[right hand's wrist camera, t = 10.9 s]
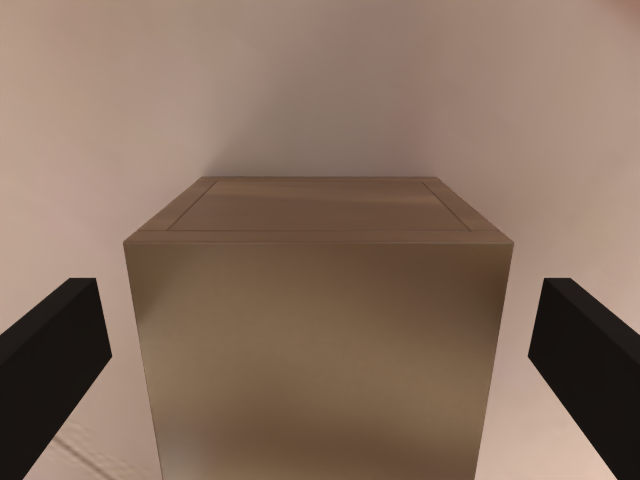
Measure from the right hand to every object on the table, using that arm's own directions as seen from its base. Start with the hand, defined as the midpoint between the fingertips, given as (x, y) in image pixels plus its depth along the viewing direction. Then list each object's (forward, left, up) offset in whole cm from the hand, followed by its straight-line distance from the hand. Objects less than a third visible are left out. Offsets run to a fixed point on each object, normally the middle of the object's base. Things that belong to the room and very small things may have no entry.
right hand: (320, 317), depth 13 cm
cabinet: (+5, +4, -10) cm, 12 cm away
